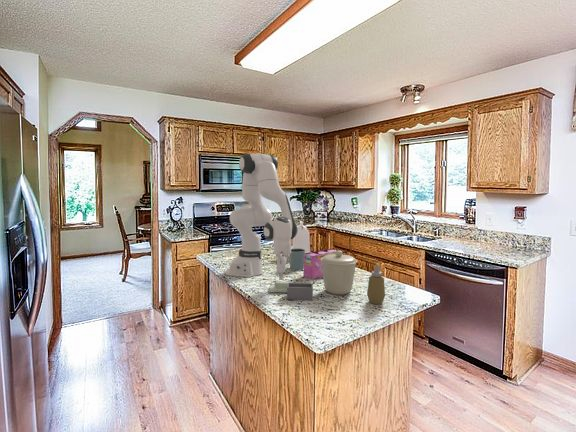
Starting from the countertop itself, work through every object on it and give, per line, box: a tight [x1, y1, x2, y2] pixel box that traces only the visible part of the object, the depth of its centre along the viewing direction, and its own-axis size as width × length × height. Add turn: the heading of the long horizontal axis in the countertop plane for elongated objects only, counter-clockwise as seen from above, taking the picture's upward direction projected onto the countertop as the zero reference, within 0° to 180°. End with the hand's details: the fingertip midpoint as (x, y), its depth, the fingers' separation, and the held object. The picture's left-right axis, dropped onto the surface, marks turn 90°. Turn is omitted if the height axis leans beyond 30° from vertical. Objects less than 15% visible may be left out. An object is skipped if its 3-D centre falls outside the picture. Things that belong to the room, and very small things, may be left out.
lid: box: [268, 280, 292, 294], centre depth 170 cm, size 13×8×5 cm, turn 86°
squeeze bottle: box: [366, 263, 386, 305], centre depth 154 cm, size 8×8×18 cm
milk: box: [291, 220, 311, 253], centre depth 240 cm, size 12×12×26 cm
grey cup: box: [288, 248, 305, 271], centre depth 212 cm, size 10×10×12 cm
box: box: [286, 282, 314, 301], centre depth 160 cm, size 12×7×6 cm, turn 87°
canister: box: [321, 249, 358, 296], centre depth 168 cm, size 18×18×21 cm
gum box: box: [303, 248, 337, 280], centre depth 200 cm, size 24×8×14 cm, turn 128°
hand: (281, 276), depth 170 cm, fingers open, 8 cm apart
